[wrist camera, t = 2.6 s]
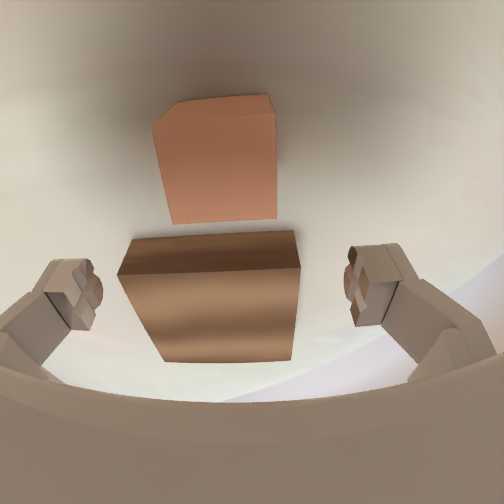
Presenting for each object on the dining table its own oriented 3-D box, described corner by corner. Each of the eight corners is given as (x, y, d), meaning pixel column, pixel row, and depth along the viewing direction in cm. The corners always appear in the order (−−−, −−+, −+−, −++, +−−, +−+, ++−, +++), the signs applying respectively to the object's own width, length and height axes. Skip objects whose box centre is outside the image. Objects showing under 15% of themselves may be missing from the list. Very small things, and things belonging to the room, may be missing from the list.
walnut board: (133, 237, 21) (116, 275, 18) (292, 228, 21) (300, 267, 18) (170, 328, 29) (165, 361, 26) (287, 325, 28) (290, 360, 25)
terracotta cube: (177, 102, 14) (151, 126, 10) (267, 94, 14) (275, 114, 10) (189, 178, 18) (172, 224, 14) (270, 173, 17) (276, 218, 14)
